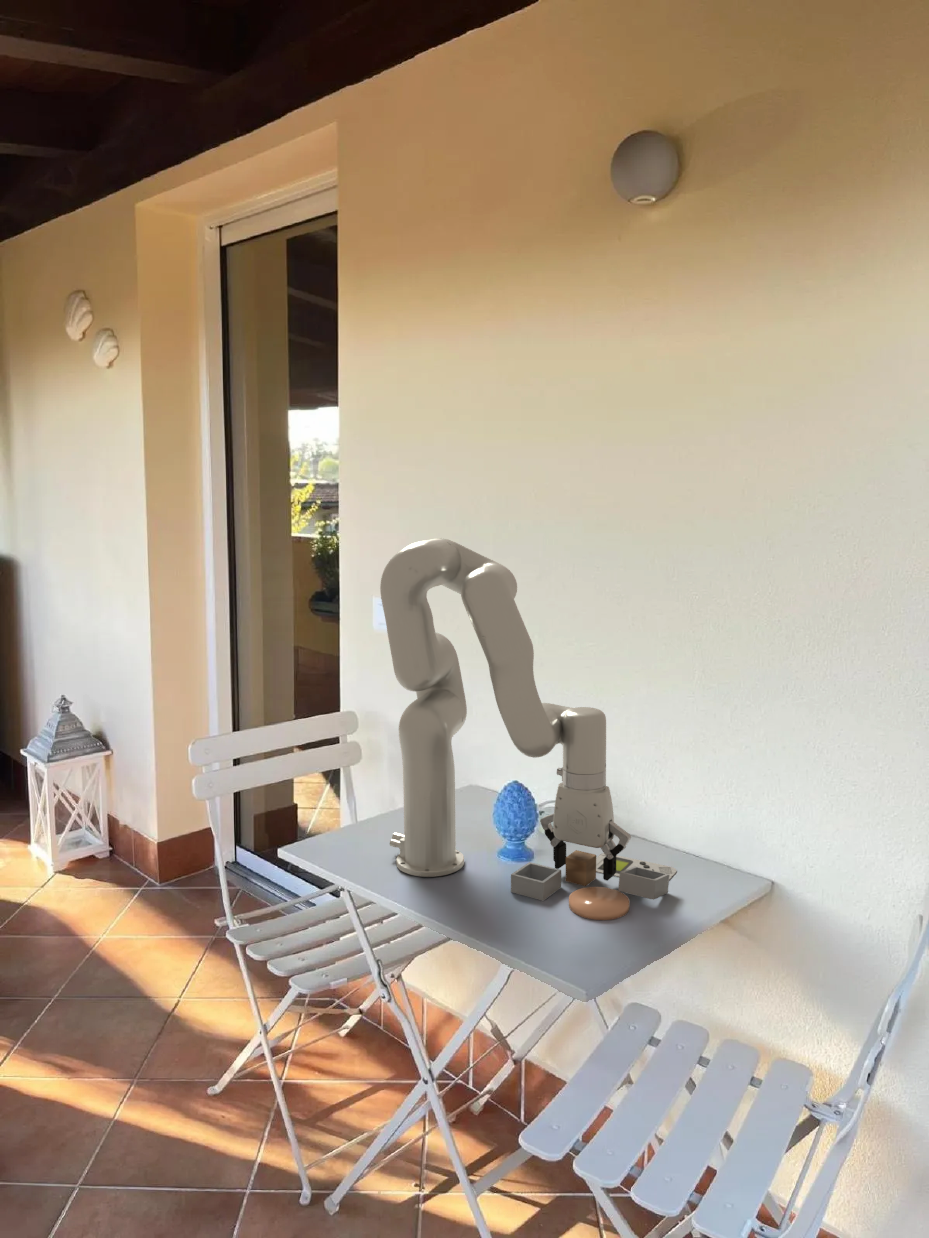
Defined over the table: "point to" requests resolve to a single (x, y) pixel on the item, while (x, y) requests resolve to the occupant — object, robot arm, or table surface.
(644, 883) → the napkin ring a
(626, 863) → the handheld gaming device
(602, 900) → the tan flat disc
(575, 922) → the table surface
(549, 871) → the grey open box
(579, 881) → the block
